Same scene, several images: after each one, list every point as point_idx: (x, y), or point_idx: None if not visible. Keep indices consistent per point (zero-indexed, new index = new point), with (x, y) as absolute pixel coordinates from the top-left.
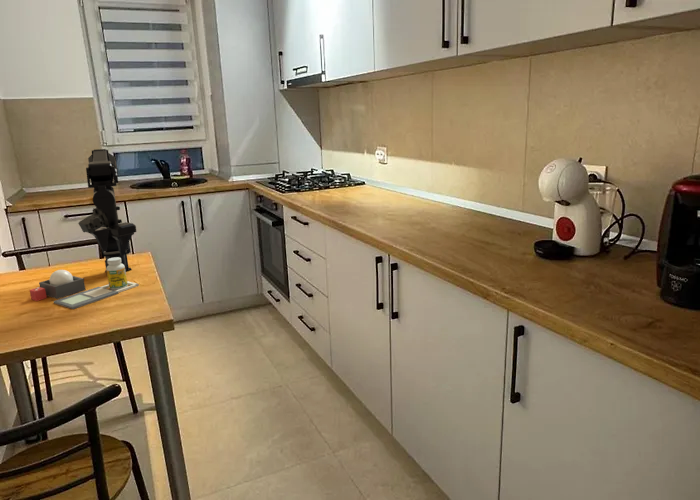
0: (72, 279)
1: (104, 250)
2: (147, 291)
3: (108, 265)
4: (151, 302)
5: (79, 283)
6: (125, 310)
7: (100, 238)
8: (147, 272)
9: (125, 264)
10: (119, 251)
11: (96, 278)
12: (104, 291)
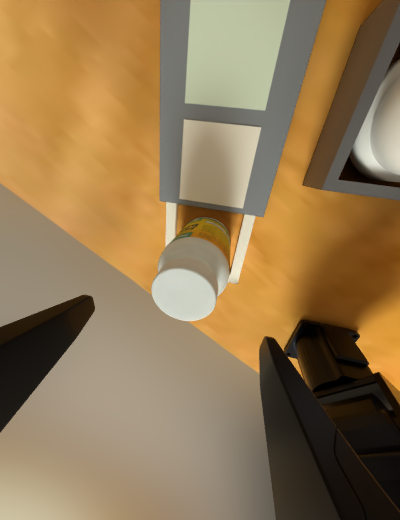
0: (378, 152)
1: (263, 348)
2: (110, 240)
3: (214, 267)
4: (27, 178)
5: (324, 163)
6: (9, 85)
7: (307, 487)
8: (228, 341)
9: (299, 361)
10: (66, 309)
11: (347, 285)
12: (199, 183)
